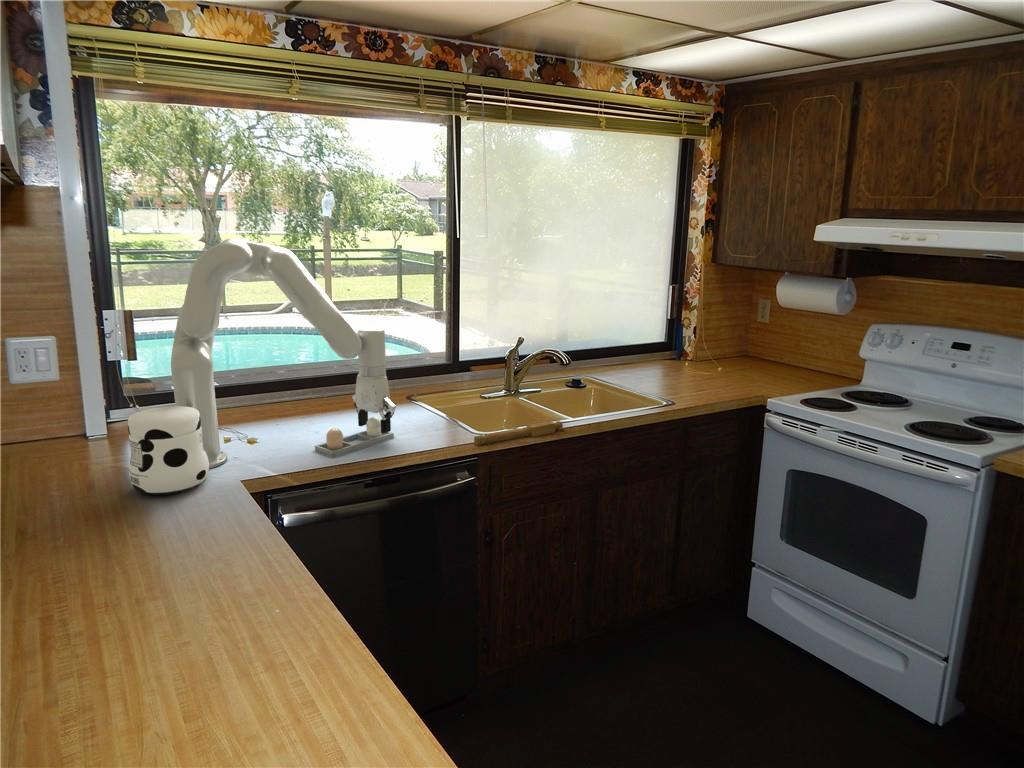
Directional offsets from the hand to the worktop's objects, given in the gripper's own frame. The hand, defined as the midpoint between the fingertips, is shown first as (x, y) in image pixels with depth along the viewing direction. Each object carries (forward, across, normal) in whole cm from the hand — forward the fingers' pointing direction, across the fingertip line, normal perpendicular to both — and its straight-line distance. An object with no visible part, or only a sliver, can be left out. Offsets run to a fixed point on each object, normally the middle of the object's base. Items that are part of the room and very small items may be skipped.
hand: (374, 428), depth 207 cm
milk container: (+4, -11, -54) cm, 55 cm away
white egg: (+3, 0, 0) cm, 3 cm away
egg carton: (+4, 0, -7) cm, 8 cm away
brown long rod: (+4, +29, +31) cm, 43 cm away
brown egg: (+3, 0, -14) cm, 14 cm away
